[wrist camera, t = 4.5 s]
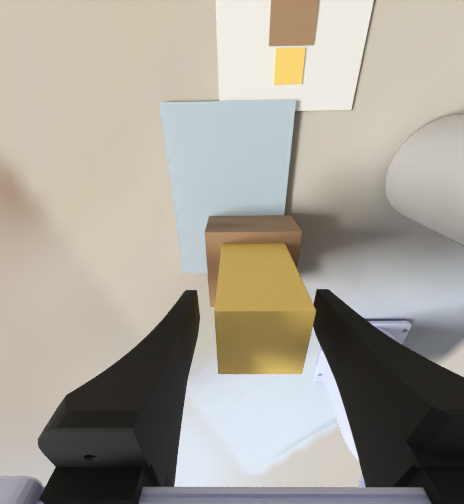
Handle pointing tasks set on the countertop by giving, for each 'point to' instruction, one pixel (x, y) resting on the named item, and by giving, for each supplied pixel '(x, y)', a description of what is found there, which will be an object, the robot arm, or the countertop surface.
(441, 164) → the beverage can
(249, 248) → the ochre brick
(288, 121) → the plate
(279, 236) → the walnut base brick
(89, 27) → the countertop surface
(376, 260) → the countertop surface
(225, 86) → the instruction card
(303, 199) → the countertop surface
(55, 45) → the countertop surface
